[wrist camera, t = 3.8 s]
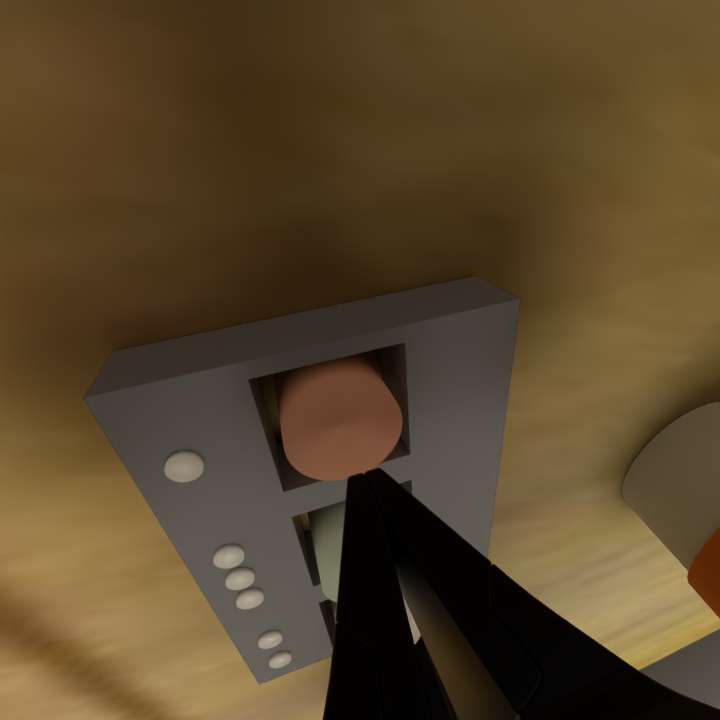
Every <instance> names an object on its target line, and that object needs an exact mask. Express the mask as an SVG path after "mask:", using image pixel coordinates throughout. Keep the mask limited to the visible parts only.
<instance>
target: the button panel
mask: <svg viewBox="0 0 720 720" xmlns="http://www.w3.org/2000/svg"><path fill="white" fill-rule="evenodd" d="M520 301H521V299H520V298H518V297H516V296H514V295H512V294H510V293H508V292H506V291H504V290H503V289H501V288H499V287H497V286H495V285H493V284H491V283H489V282H487V281H485V280H483V279H481V278H479V277H477V276H472V277H467V278H462V279H458V280H453V281H448V282H443V283H438V284H434V285H429V286H424V287H419V288H414V289H409V290H405V291H400V292H395V293H390V294H385V295H381V296H376V297H371V298H366V299H361V300H357V301H352V302H347V303H342V304H337V305H332V306H328V307H323V308H318V309H313V310H308V311H304V312H299V313H294V314H289V315H284V316H280V317H275V318H270V319H265V320H260V321H255V322H251V323H246V324H241V325H236V326H231V327H227V328H222V329H217V330H212V331H207V332H203V333H198V334H193V335H188V336H183V337H178V338H174V339H169V340H164V341H159V342H154V343H150V344H145V345H140V346H135V347H130V348H126V349H121V350H116V351H113V352H112V353H111V355H110V357H109V358H108V360H107V361H106V363H105V364H104V366H103V368H102V369H101V371H100V372H99V374H98V375H97V377H96V379H95V380H94V382H93V383H92V385H91V386H90V388H89V390H88V391H87V393H86V394H85V396H84V397H83V399H84V400H85V402H86V404H87V405H88V407H89V408H90V410H91V412H92V413H93V415H94V417H95V418H96V420H97V422H98V423H99V425H100V426H101V428H102V430H103V431H104V433H105V435H106V436H107V438H108V439H109V441H110V443H111V444H112V446H113V448H114V449H115V451H116V452H117V454H118V456H119V457H120V459H121V461H122V462H123V464H124V465H125V467H126V469H127V470H128V472H129V474H130V475H131V477H132V478H133V480H134V482H135V483H136V485H137V487H138V488H139V490H140V492H141V493H142V495H143V496H144V498H145V500H146V501H147V503H148V505H149V506H150V508H151V509H152V511H153V513H154V514H155V516H156V518H157V519H158V521H159V522H160V524H161V526H162V527H163V529H164V531H165V532H166V534H167V535H168V537H169V539H170V540H171V542H172V544H173V545H174V547H175V548H176V550H177V552H178V553H179V555H180V557H181V558H182V560H183V562H184V563H185V565H186V566H187V568H188V570H189V571H190V573H191V575H192V576H193V578H194V579H195V581H196V583H197V584H198V586H199V588H200V589H201V591H202V592H203V594H204V596H205V597H206V599H207V601H208V602H209V604H210V605H211V607H212V609H213V610H214V612H215V614H216V615H217V617H218V619H219V620H220V622H221V623H222V625H223V627H224V628H225V630H226V632H227V633H228V635H229V636H230V638H231V640H232V641H233V643H234V645H235V646H236V648H237V649H238V651H239V653H240V654H241V656H242V658H243V659H244V661H245V662H246V664H247V666H248V667H249V669H250V671H251V672H252V674H253V675H254V677H255V679H256V680H257V682H258V684H262V683H264V682H267V681H269V680H272V679H274V678H277V677H280V676H282V675H285V674H287V673H290V672H292V671H295V670H297V669H300V668H302V667H305V666H308V665H310V664H313V663H315V662H318V661H320V660H323V659H325V658H328V657H330V656H332V652H333V642H334V629H335V624H336V623H335V618H334V614H333V609H332V604H331V600H330V599H328V598H327V597H326V596H325V594H324V593H323V591H322V586H321V581H320V575H319V570H318V565H317V560H316V555H315V549H314V544H313V539H312V534H311V532H308V533H305V534H304V532H303V529H302V525H301V522H300V519H299V515H300V514H303V513H307V512H310V511H313V510H316V509H319V508H323V507H326V506H329V505H332V504H335V503H339V502H342V501H345V500H346V489H347V479H344V480H336V481H325V480H318V479H314V478H310V477H308V476H306V475H304V474H302V473H300V472H299V471H297V470H296V469H295V468H294V467H293V466H292V465H291V464H290V462H289V460H288V459H287V457H286V454H285V451H284V446H283V441H280V442H277V441H276V438H275V435H274V431H273V428H272V425H271V421H270V418H269V415H268V411H267V408H266V405H265V401H264V398H263V395H262V391H261V388H260V385H259V381H258V378H257V377H261V376H265V375H269V374H273V373H278V372H282V371H286V370H290V369H295V368H299V367H303V366H307V365H311V364H316V363H320V362H324V361H328V360H333V359H337V358H341V357H345V356H350V355H354V354H358V353H362V352H366V351H371V350H375V349H379V348H381V355H382V366H383V378H384V383H385V385H386V386H387V388H388V389H389V391H390V392H391V394H392V396H393V397H394V399H395V400H396V402H397V403H398V405H399V407H400V410H401V413H402V430H401V434H400V437H399V439H398V442H397V444H396V445H395V447H394V448H393V450H392V451H391V452H390V454H389V455H388V456H387V457H386V458H385V459H384V460H383V461H382V462H380V463H379V464H378V465H377V466H375V467H374V468H381V469H383V470H384V471H385V472H386V473H387V474H389V475H390V476H391V477H392V478H393V479H394V480H396V481H397V482H398V483H399V484H400V485H401V486H403V487H404V488H405V489H406V490H407V491H409V492H410V493H411V494H412V495H413V496H414V497H416V498H417V499H418V500H419V501H420V502H421V503H423V504H424V505H425V506H426V507H427V508H429V509H430V510H431V511H432V512H433V513H434V514H436V515H437V516H438V517H439V518H440V519H441V520H443V521H444V522H445V523H446V524H447V525H448V526H450V527H451V528H452V529H453V530H454V531H456V532H457V533H458V534H459V535H460V536H461V537H463V538H464V539H465V540H466V541H467V542H468V543H470V544H471V545H472V546H473V547H474V548H476V549H477V550H478V551H479V552H480V553H481V554H483V555H484V556H485V557H486V558H487V556H488V549H489V541H490V533H491V525H492V518H493V510H494V502H495V494H496V487H497V479H498V471H499V463H500V456H501V448H502V440H503V432H504V425H505V417H506V409H507V401H508V394H509V386H510V378H511V370H512V363H513V355H514V347H515V339H516V332H517V324H518V316H519V308H520ZM374 468H372V469H374ZM370 470H371V469H370Z"/></svg>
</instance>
